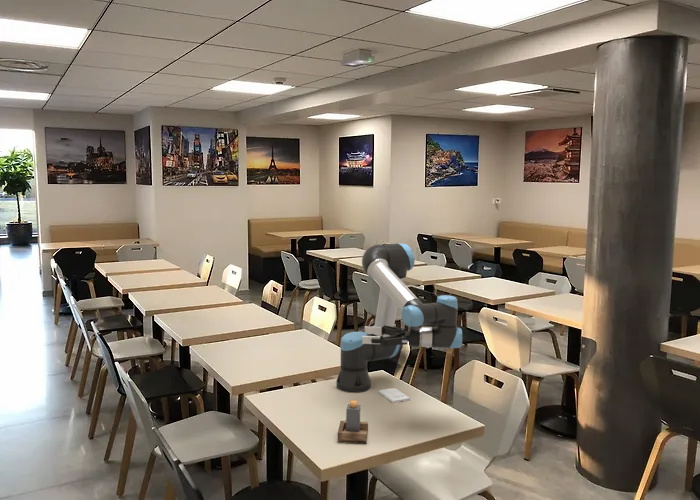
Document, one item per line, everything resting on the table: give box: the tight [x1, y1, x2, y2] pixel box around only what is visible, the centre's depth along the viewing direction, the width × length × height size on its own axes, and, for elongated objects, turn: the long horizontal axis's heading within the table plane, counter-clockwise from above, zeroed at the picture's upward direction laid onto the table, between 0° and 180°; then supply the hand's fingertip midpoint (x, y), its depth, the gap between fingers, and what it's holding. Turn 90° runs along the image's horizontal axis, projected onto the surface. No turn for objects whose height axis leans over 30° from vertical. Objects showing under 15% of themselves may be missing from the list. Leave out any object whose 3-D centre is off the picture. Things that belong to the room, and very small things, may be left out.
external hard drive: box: [378, 387, 411, 404], centre depth 238 cm, size 2×8×12 cm
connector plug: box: [345, 399, 362, 432], centre depth 200 cm, size 4×4×12 cm
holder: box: [336, 420, 369, 445], centre depth 200 cm, size 10×10×4 cm
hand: (363, 334), depth 215 cm, fingers open, 13 cm apart
